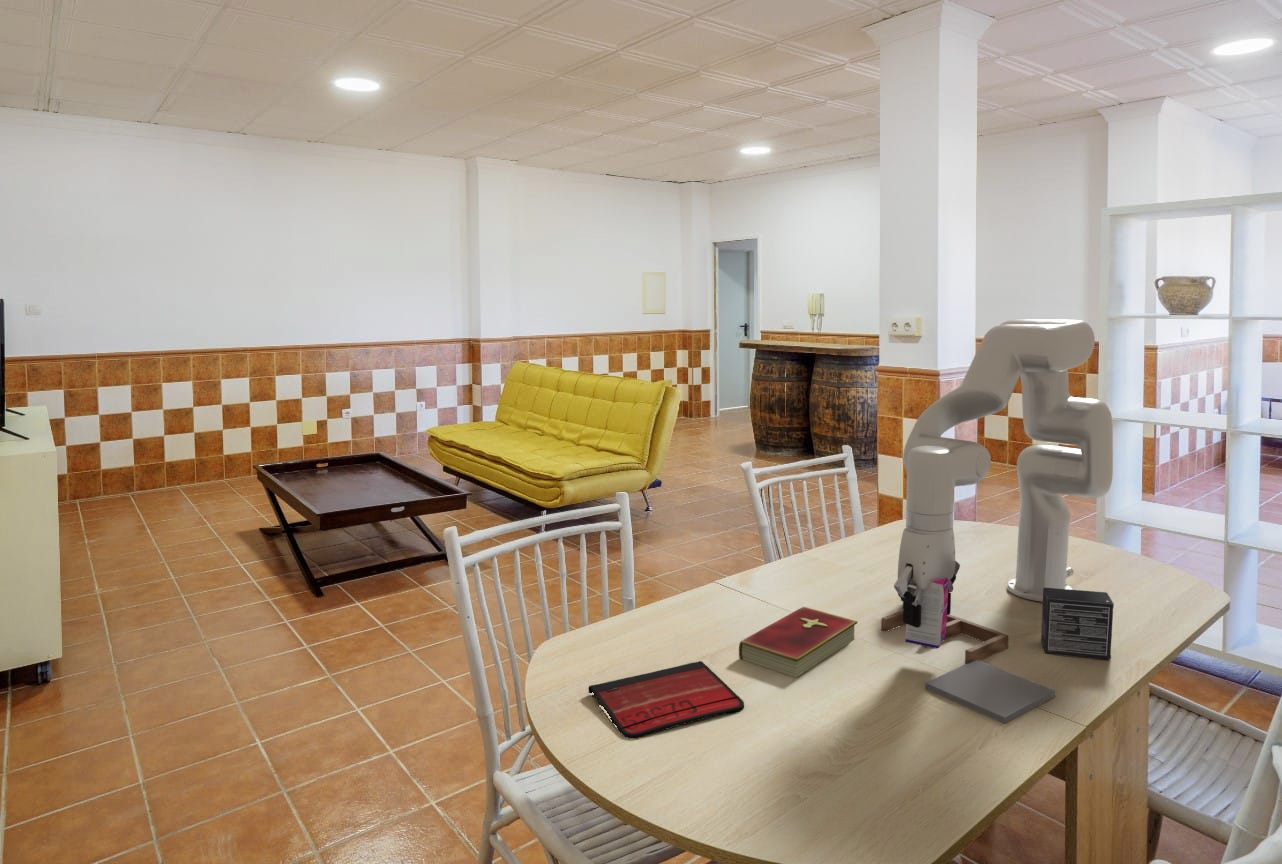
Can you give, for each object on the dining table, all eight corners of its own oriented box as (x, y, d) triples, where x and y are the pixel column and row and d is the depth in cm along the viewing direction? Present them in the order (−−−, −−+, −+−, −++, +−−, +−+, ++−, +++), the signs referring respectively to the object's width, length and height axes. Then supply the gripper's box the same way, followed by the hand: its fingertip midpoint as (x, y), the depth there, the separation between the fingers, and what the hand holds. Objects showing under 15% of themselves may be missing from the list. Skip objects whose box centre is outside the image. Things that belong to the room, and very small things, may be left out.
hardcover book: (738, 661, 147) (738, 639, 147) (801, 624, 163) (801, 604, 162) (796, 681, 139) (797, 657, 139) (857, 641, 155) (857, 619, 154)
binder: (588, 684, 135) (701, 658, 144) (588, 697, 136) (700, 671, 144) (627, 734, 121) (750, 702, 129) (627, 748, 121) (749, 716, 130)
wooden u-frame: (919, 615, 164) (919, 603, 164) (1008, 648, 149) (1008, 635, 149) (881, 630, 158) (881, 617, 158) (969, 665, 143) (970, 651, 142)
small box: (1104, 646, 149) (1108, 590, 147) (1111, 661, 143) (1115, 604, 141) (1039, 639, 152) (1042, 585, 151) (1043, 654, 146) (1047, 597, 145)
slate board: (975, 665, 143) (976, 659, 143) (1055, 696, 131) (1055, 690, 131) (925, 688, 135) (925, 682, 135) (1004, 723, 123) (1005, 717, 123)
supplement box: (940, 649, 139) (942, 584, 137) (904, 642, 142) (905, 579, 140) (947, 636, 144) (949, 573, 142) (912, 629, 147) (914, 568, 145)
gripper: (942, 505, 147) (939, 599, 150) (877, 525, 137) (875, 625, 140) (980, 514, 141) (976, 612, 144) (915, 535, 131) (912, 639, 134)
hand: (926, 618), depth 142 cm, fingers closed on supplement box, 7 cm apart
